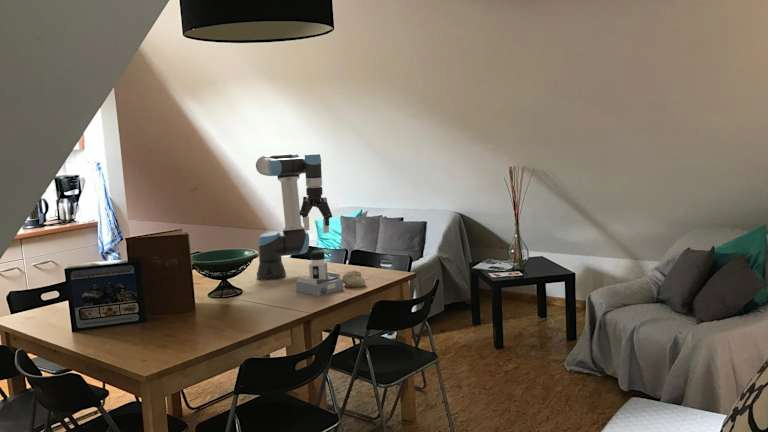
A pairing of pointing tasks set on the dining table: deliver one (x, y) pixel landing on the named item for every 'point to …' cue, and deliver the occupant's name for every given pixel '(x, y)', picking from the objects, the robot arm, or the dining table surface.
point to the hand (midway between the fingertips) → (316, 231)
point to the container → (318, 266)
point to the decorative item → (353, 279)
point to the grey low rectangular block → (319, 284)
